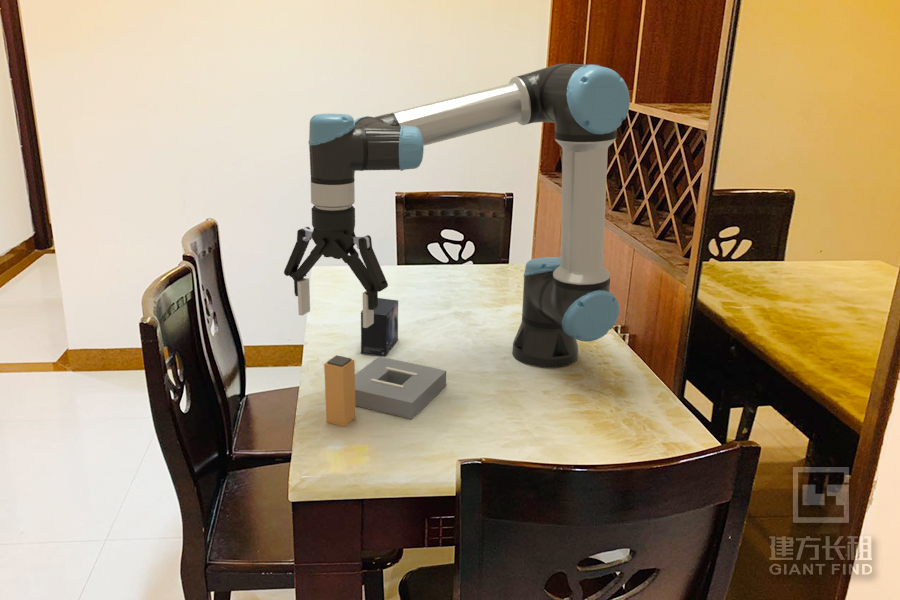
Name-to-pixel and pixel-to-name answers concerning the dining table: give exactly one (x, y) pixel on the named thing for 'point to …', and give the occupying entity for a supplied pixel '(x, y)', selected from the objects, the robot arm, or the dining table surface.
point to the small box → (381, 329)
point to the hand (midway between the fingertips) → (335, 319)
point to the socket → (397, 386)
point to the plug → (340, 390)
